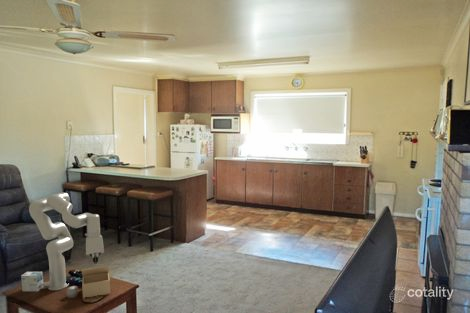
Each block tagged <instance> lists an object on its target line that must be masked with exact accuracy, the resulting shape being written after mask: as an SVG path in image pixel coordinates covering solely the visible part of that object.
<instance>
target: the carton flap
mask: <svg viewBox="0 0 470 313" xmlns="http://www.w3.org/2000/svg"><path fill="white" fill-rule="evenodd" d="M109 271H110V265H101V266H95V267H89V268H82V269H81V274H82V277H83V276H85V275H92V274H98V273H105V272H109ZM109 273H110V272H109Z"/></svg>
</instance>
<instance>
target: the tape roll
mask: <svg viewBox="0 0 470 313" xmlns="http://www.w3.org/2000/svg"><path fill="white" fill-rule="evenodd" d="M78 289H79V288H78V286H77V285H72V286H71V285H70V286H68V287H66V292H67V294H66V295H67V298H68V299H73V298H76V297H78V296H79V290H78Z"/></svg>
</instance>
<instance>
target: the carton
mask: <svg viewBox="0 0 470 313" xmlns="http://www.w3.org/2000/svg"><path fill="white" fill-rule="evenodd" d="M109 273H110V272H105V273H98V274H92V275H85V276H83V275H82V280H81V281H82V284H81V285H82V286H81V287H82V289H81V290H82V299H83V298H84V299H86V298H85V297H90V298H92V297H91V296H96V297H98V296H97V295H102V296H106V295H111V280H110V274H109Z"/></svg>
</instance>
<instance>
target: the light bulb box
mask: <svg viewBox="0 0 470 313" xmlns="http://www.w3.org/2000/svg"><path fill="white" fill-rule="evenodd" d="M20 277H21V290H22V292H39V291H41V290H42V289H43V288H44V287H45V286H44V285H43V282H44V276H43V271H26V272H24V273H23V274H21V276H20Z"/></svg>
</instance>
